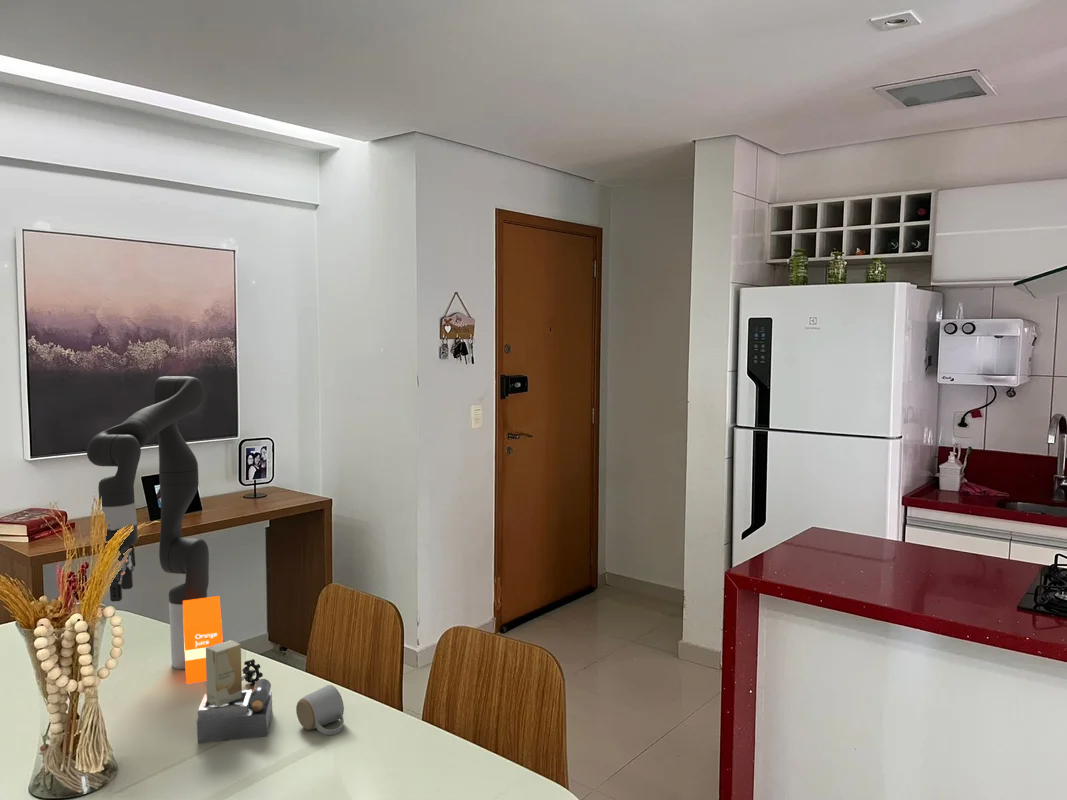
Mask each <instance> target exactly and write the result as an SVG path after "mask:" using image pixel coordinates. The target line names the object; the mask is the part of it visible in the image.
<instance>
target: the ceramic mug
mask: <svg viewBox="0 0 1067 800" xmlns="http://www.w3.org/2000/svg"><path fill="white" fill-rule="evenodd" d="M344 705H345V704H344V701H343V697H342V695H341V693H340V692H339V690H338V688H337V687H335V686H334V685H332V684H328V685H325V686H323V687H321V688H319V689H317V690H315V691H313V692H311V693H309V694H306V695H305V696H303V697H301V698H300V699H299V700H298V701H297V703H296V709H295V711H296V717H297V720H298V722H299V724H300V725H301V726H302V727H303V728H304V729H305V730H308V731H311V730H317V731H318V732H320V733H321V734H323V735H325V736H330V735H329V734H334V733H337V732H339V731H340V730H341V729H342V730H343V727H344V722H345V721H344V720H345V719H344V713H345V712H344V711H345V706H344ZM338 720H340V726H338V727H336V728H333V729H332V728H331V729H328V728H325V727H323V726H326V725H328V724H330V723H333V722H335V721H338ZM342 730H341V731H342ZM341 731H340V732H341ZM340 732H339V733H340ZM337 734H338V733H337ZM334 735H335V734H334Z"/></svg>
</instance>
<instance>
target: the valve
mask: <svg viewBox="0 0 1067 800" xmlns="http://www.w3.org/2000/svg"><path fill="white" fill-rule="evenodd" d="M244 666H245V667H243V668H242V669H241V672H242V673H241V676H242V681H244V680H245V682H247V683H249V686H251V687H254V685H255V683H256V682H257V681H258V680H260V679H261V678H262V677H263V676H264V674H263V672H260V670H259V669H261V665H260V664H259V663H257V664H256V661H255V659H254V658H253V659H249V660H246V661H244ZM251 667H252V668H251ZM250 668H251V669H250ZM253 677H255V678H253Z"/></svg>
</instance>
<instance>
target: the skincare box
mask: <svg viewBox="0 0 1067 800" xmlns="http://www.w3.org/2000/svg"><path fill="white" fill-rule="evenodd" d="M241 647H242V645H241V643H238V642H236V641H235V640H232V639H229V640H227V641H224V642H223V643H218V644H216V645H213V646H210V647H206V681H205V682H206V683H205V684H206V686H205V687H206V694H207V702H209V703H210V704H212V705H215V706H217V707H218V706H221V705H223V704H226V703H229V702H231V701H234V700H236V699H239V698H241V697H242V691H243V685H242V684H243V683H242V676H241V674H242V648H241Z"/></svg>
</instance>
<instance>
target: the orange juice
mask: <svg viewBox="0 0 1067 800" xmlns="http://www.w3.org/2000/svg"><path fill="white" fill-rule="evenodd" d="M220 598H221V597H220V595H217V596H215V595H214V596H209V597H208V596H207V598H200V599H192V600H185V601H183V626H184V650H185V668H186V669H185V679H186V685H189V684H190V685H191V684H194V683H201V682H202V683H203V682H206V647H210V646H213V645H216V644H218V643H223V640H224V639H223V621H222V611H221V599H220Z"/></svg>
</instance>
